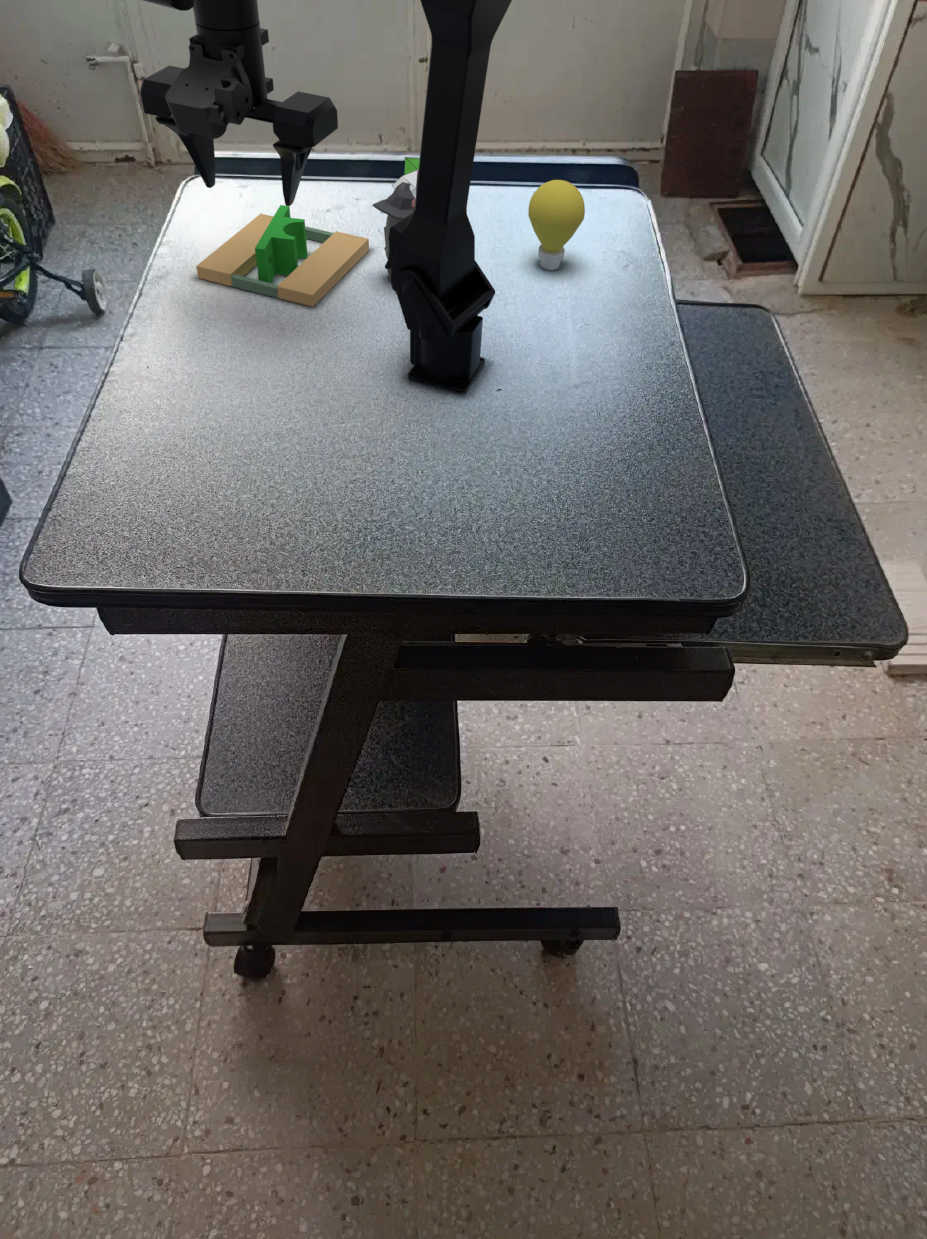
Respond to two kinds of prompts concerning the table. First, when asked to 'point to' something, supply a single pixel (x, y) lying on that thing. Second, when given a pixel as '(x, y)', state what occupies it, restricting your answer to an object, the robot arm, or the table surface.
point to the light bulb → (555, 219)
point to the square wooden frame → (303, 281)
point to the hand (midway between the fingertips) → (249, 195)
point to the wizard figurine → (396, 210)
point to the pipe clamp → (281, 245)
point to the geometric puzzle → (409, 174)
